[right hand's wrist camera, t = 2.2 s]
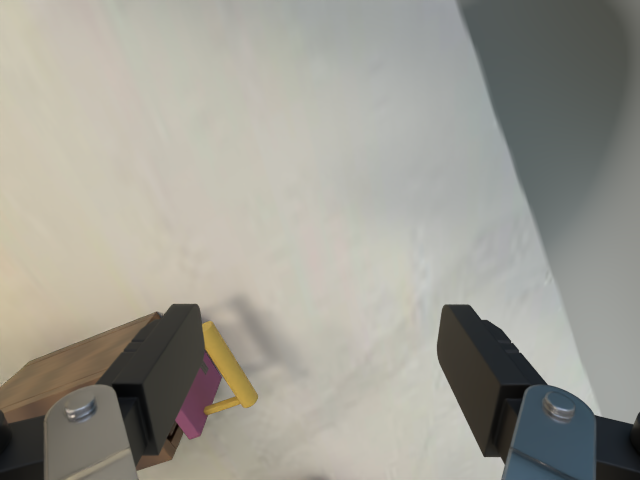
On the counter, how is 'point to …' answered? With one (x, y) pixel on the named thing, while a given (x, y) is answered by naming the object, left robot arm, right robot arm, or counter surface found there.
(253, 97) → the counter surface
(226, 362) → the drawer
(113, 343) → the cabinet
